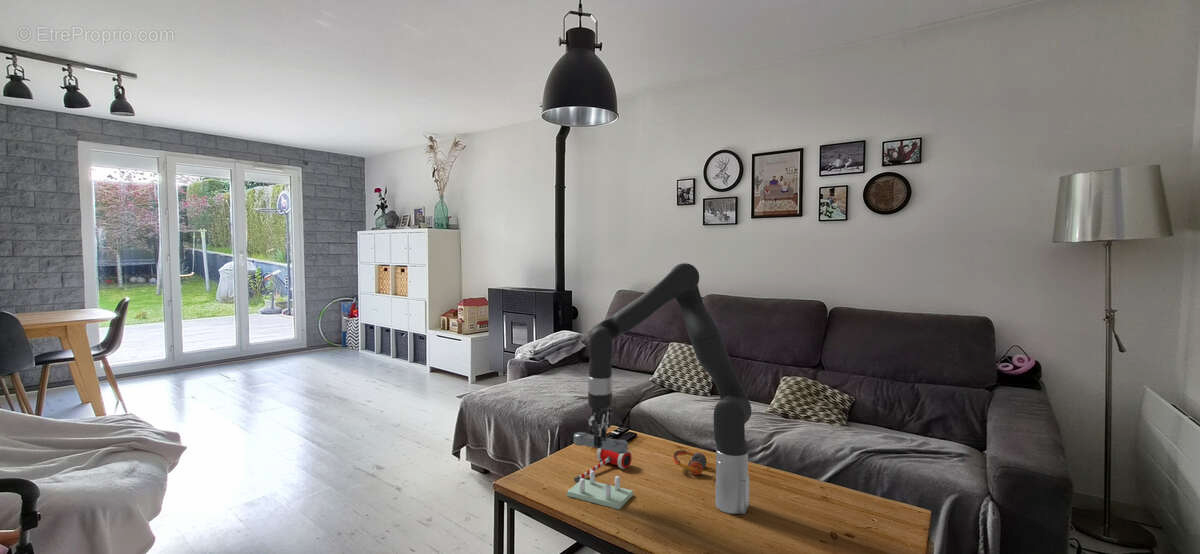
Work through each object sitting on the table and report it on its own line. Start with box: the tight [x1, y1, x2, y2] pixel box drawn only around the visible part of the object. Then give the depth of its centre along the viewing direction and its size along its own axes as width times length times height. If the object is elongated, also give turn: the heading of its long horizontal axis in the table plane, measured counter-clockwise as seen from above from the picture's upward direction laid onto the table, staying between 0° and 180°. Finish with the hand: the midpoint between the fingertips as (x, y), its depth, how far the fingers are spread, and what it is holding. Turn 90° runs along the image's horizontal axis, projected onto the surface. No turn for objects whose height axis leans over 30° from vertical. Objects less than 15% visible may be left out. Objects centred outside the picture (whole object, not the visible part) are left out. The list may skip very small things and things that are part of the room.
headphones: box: [672, 449, 716, 483], centre depth 178 cm, size 17×5×20 cm
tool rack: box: [566, 470, 634, 510], centre depth 160 cm, size 18×10×6 cm, turn 62°
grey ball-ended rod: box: [573, 431, 629, 454], centre depth 159 cm, size 18×4×3 cm, turn 62°
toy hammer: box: [573, 448, 633, 484], centre depth 178 cm, size 23×12×6 cm, turn 139°
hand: (600, 445), depth 159 cm, fingers closed on grey ball-ended rod, 3 cm apart
